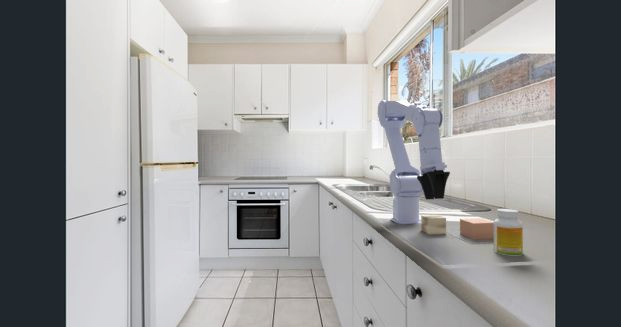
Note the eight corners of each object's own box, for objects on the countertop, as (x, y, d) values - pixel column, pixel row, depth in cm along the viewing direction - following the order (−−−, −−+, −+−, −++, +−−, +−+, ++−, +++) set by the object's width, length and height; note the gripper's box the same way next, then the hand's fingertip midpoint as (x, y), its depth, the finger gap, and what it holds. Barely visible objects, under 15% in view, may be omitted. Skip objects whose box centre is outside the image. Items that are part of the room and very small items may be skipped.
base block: (460, 233, 86) (459, 218, 86) (481, 233, 86) (481, 218, 86) (473, 239, 80) (473, 223, 80) (495, 238, 80) (495, 222, 80)
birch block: (421, 232, 90) (421, 215, 90) (437, 232, 91) (437, 214, 91) (429, 236, 86) (428, 218, 86) (446, 236, 86) (446, 217, 86)
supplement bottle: (528, 258, 66) (528, 212, 66) (502, 258, 66) (502, 212, 66) (512, 251, 72) (512, 208, 71) (488, 251, 72) (488, 208, 72)
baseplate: (442, 232, 90) (441, 230, 90) (482, 231, 91) (482, 229, 91) (471, 246, 76) (471, 243, 76) (518, 244, 77) (518, 242, 77)
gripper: (454, 144, 82) (460, 197, 80) (436, 154, 96) (440, 199, 94) (427, 146, 82) (431, 198, 80) (412, 155, 97) (415, 200, 95)
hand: (434, 199), depth 87 cm, fingers open, 7 cm apart
